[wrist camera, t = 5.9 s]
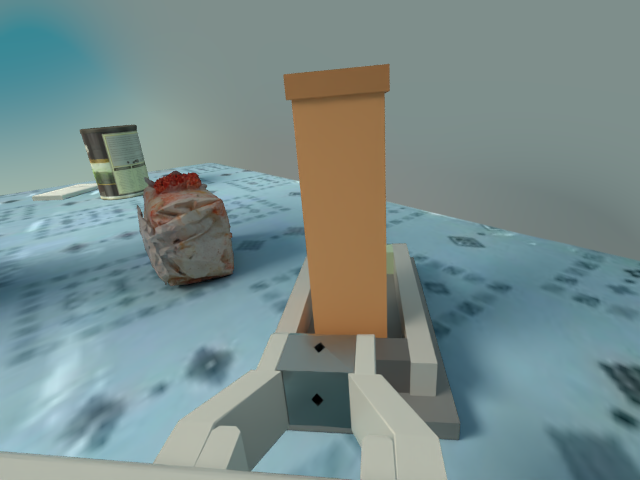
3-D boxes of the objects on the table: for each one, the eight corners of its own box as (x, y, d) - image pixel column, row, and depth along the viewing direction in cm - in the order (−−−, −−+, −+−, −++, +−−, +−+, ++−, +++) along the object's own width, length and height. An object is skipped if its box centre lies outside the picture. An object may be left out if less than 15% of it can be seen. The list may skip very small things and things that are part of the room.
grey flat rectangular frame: (458, 439, 16) (463, 388, 15) (248, 427, 17) (238, 380, 16) (413, 267, 32) (413, 236, 31) (307, 268, 34) (304, 239, 33)
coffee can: (93, 202, 71) (69, 130, 66) (109, 192, 80) (90, 128, 75) (146, 196, 73) (128, 125, 68) (157, 186, 82) (141, 123, 77)
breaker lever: (391, 359, 19) (389, 63, 14) (313, 357, 20) (283, 74, 15) (387, 315, 23) (384, 72, 18) (322, 314, 24) (302, 80, 19)
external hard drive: (33, 203, 78) (79, 190, 90) (64, 202, 77) (106, 188, 88) (31, 196, 78) (76, 183, 89) (61, 194, 76) (104, 182, 87)
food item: (248, 276, 34) (231, 174, 30) (160, 303, 30) (128, 191, 27) (213, 238, 45) (198, 160, 41) (146, 254, 41) (123, 171, 38)
